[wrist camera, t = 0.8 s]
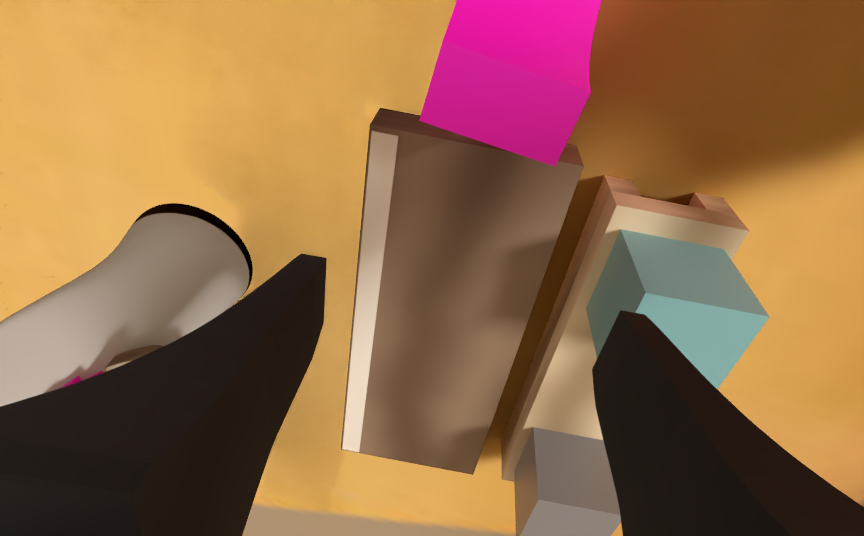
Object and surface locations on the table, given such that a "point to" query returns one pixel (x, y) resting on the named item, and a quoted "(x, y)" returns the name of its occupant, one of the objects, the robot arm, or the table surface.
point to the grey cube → (564, 487)
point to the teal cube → (679, 299)
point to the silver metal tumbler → (126, 302)
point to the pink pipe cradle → (514, 73)
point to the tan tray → (568, 322)
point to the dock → (444, 286)
